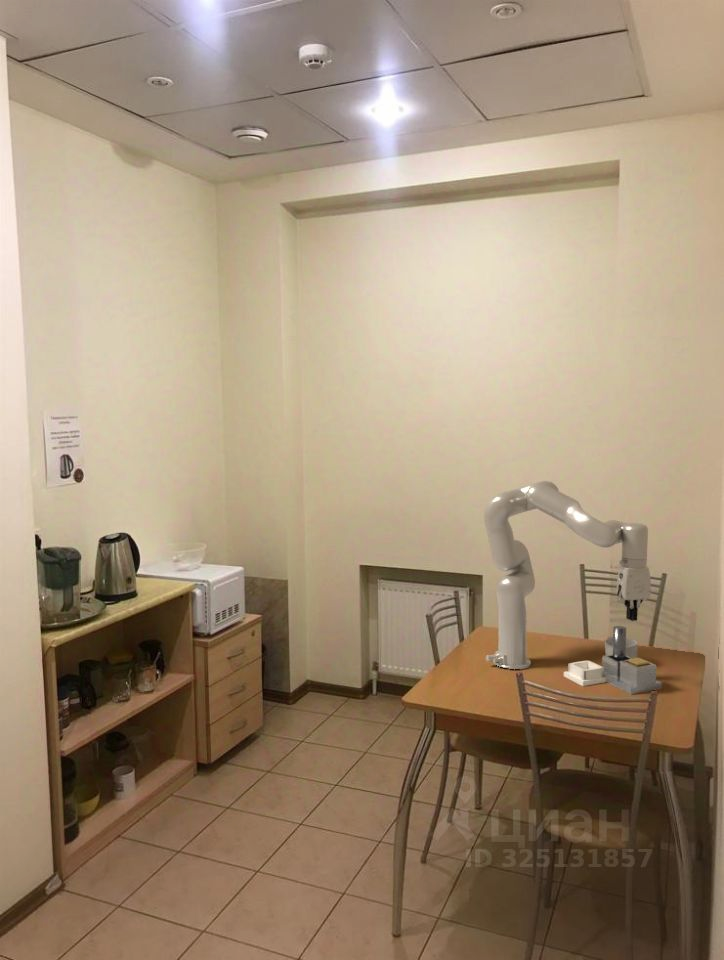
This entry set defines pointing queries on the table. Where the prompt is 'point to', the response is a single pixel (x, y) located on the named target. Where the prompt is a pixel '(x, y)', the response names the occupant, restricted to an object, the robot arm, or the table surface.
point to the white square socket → (585, 673)
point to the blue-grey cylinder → (619, 643)
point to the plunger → (638, 662)
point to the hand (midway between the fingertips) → (631, 619)
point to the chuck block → (630, 675)
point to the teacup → (630, 647)
